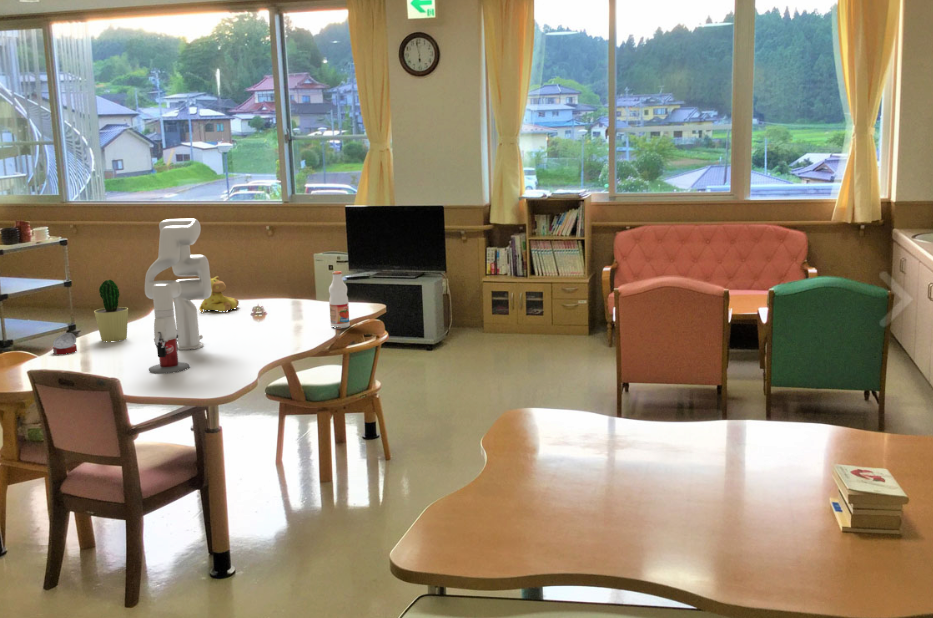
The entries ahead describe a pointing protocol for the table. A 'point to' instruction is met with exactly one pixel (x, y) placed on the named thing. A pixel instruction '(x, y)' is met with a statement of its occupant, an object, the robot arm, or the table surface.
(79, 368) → the table surface
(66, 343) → the snow globe
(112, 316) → the potted cactus
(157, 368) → the charcoal mat
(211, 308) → the giraffe plush
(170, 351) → the soda can
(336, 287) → the fruit juice
